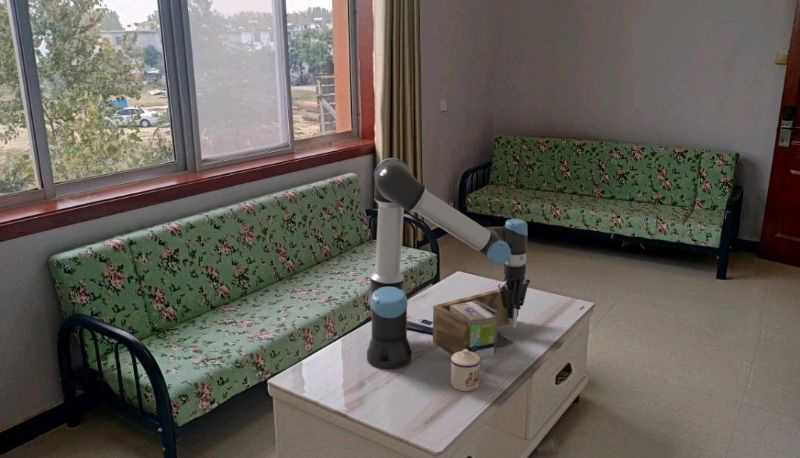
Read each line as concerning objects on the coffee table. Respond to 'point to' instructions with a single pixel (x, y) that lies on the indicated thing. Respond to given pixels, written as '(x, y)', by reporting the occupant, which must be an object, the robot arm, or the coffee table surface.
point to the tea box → (477, 327)
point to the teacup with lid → (465, 370)
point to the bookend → (496, 329)
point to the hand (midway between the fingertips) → (512, 325)
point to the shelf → (462, 321)
